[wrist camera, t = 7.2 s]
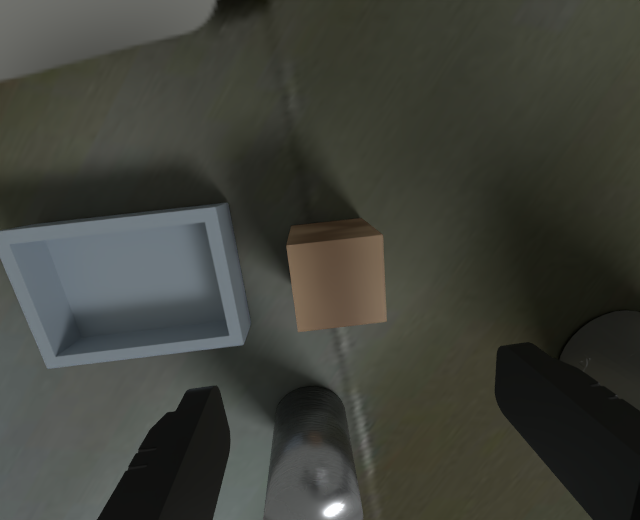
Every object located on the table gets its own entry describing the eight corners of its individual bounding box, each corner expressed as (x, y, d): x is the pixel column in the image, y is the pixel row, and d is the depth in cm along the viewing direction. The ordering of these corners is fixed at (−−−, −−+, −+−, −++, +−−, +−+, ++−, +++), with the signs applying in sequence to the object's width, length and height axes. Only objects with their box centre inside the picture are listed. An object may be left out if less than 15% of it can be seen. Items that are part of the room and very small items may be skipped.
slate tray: (228, 202, 20) (215, 206, 17) (251, 323, 23) (243, 344, 20) (34, 224, 20) (-11, 232, 17) (80, 343, 23) (47, 368, 20)
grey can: (342, 382, 25) (359, 476, 17) (348, 439, 27) (366, 547, 19) (270, 391, 25) (255, 489, 17) (280, 447, 26) (271, 560, 19)
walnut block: (361, 218, 21) (382, 234, 15) (365, 283, 23) (386, 321, 17) (291, 225, 21) (286, 245, 15) (299, 291, 22) (298, 332, 17)
